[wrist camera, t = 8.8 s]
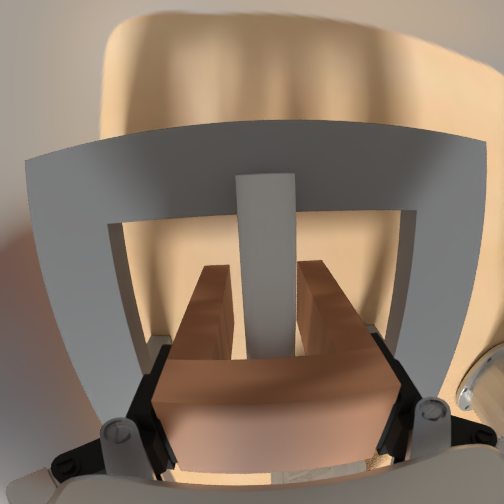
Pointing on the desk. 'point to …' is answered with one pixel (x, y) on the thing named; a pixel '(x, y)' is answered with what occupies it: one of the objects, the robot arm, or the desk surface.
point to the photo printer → (318, 473)
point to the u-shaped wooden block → (274, 385)
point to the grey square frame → (256, 232)
